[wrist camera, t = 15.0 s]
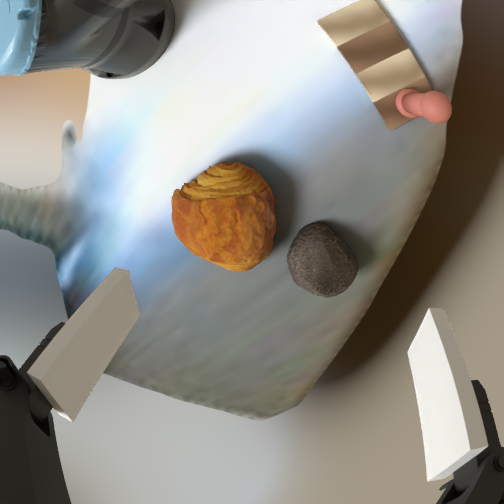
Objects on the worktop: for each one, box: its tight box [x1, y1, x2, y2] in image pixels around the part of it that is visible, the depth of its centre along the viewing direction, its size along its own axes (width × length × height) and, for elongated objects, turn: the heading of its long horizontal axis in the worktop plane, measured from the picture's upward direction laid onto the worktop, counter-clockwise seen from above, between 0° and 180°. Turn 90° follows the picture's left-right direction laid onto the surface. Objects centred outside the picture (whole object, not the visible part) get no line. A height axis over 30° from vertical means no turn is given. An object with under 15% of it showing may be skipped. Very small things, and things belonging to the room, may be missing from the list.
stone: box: [287, 223, 358, 298], centre depth 41 cm, size 10×8×10 cm
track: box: [318, 0, 433, 131], centre depth 28 cm, size 16×8×1 cm, turn 36°
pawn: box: [395, 89, 452, 123], centre depth 25 cm, size 4×4×11 cm
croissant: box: [172, 162, 277, 272], centre depth 40 cm, size 14×16×8 cm
